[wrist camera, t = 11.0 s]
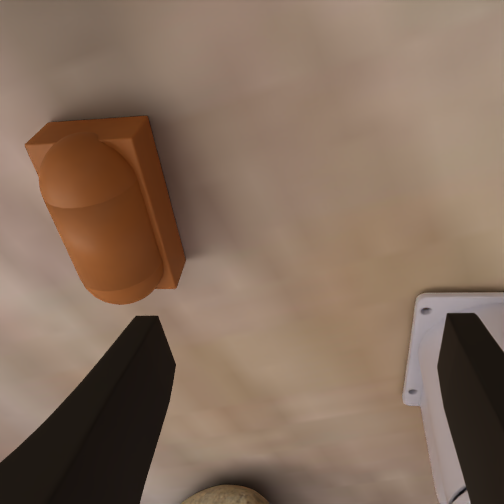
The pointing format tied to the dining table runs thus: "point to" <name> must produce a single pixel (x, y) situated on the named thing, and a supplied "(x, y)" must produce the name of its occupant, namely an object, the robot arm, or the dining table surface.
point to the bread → (110, 205)
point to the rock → (226, 496)
